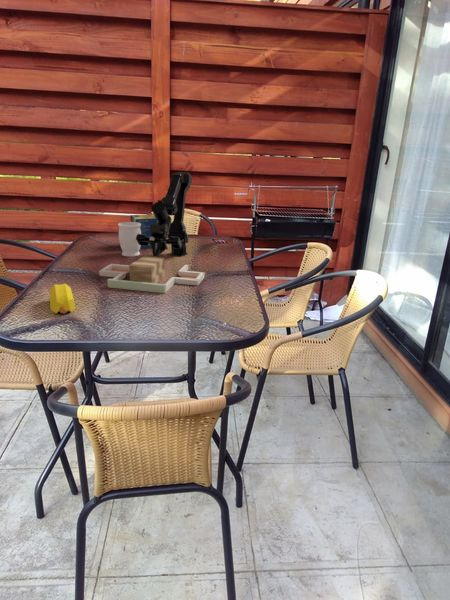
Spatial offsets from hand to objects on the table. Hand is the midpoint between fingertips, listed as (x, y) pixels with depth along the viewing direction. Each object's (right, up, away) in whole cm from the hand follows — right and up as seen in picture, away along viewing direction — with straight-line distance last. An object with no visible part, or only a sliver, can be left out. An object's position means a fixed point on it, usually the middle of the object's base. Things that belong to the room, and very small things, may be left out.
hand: (154, 258), depth 186 cm
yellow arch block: (-26, -20, -33) cm, 46 cm away
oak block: (-2, -9, -5) cm, 10 cm away
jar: (-16, +5, +30) cm, 34 cm away
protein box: (-10, +11, +46) cm, 49 cm away
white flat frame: (-1, -8, -2) cm, 8 cm away
